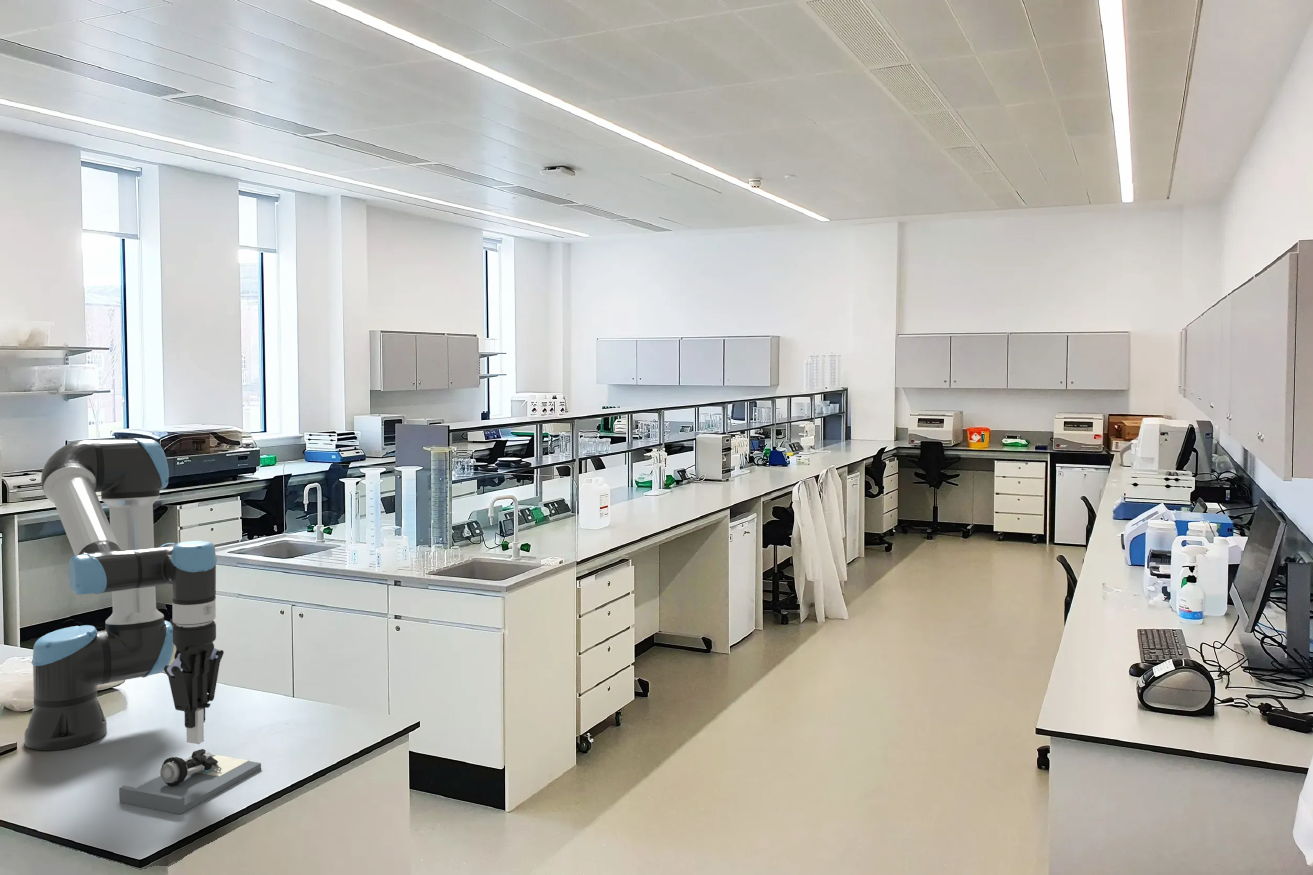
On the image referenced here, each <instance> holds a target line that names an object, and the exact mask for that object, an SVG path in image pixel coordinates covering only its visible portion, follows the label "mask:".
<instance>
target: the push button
mask: <svg viewBox="0 0 1313 875" xmlns="http://www.w3.org/2000/svg"><path fill="white" fill-rule="evenodd" d="M208 754H210V755H208ZM211 755H213V754H212V753H211V752H209V751H208V752H206V749H204V748H201V749H198V750H194V751H193V752H192V754H191V756H189V757H188V758H185V759H183V758H182V757H177V756H171V757H168V758H166V759H165V760H164V761H163V763H162V765H161V768H160V772H159V773H160V774H159V776H161V779H162V780H163V781H164V782H165V783H166V784H167V785H169V786H176V785H178V784H179V783H181V782H183V781H184V779H185V777H186V776H187V775H189V774H192V773H195V772H199V771H203V772H204V773H207V772H209V771H214V772H216V773H217V772H218V771H220V772H221V769H222V768H221V767H219V766H218V764H217V763H218V761H217V760H215V759H214V758H213V757H211ZM219 768H220V770H219ZM215 769H216V771H215ZM176 780H177V781H176Z"/></svg>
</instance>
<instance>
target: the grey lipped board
mask: <svg viewBox="0 0 1313 875" xmlns="http://www.w3.org/2000/svg"><path fill="white" fill-rule="evenodd" d="M208 755H210V754H208ZM211 757H213V758H214V759H215V760H217V761H218V763H217V764H218V766H219V767H221V768H222V769H221V772H220V771H218V772H217V773H216V772H214V771H209V772H207V773H204V772H203V771H199V772H195V773H192V774H189V775H187V776H186V777H185V779H184V781H183V782H181V783H179V784H178V785H176V786H169V785H167V784H166V783H165V782H164V781H163V780H162V779H161V776H160V775H159V776H157V777H155V778H153V779H150V780H148V781H147V782H144V783H143V784H140V785H139V786H137V787H133V786H129V785H121V786H120V787H118V788H119V789H118V790H119V791H118V796H119V799H118V800H119V804H126V805H131V806H137V807H142V808H146V809H152V810H156V811H162V812H166V813H171V814H176V815H183V813H185V812H187V811H188V810H190V809H192V808H194V807H196V806H198V805H199V804H202V803H203V802H205V801H207V800H209V799H210V798H212V797H214V796H215V795H218V794H219V793H221V792H222V791H225V790H226V789H228V788H230V787H231V786H233V785H235V784H236V783H239V782H240V781H242V780H244V779H246V778H247V777H249V776H251V775H252V774H254V773H256V772H258V771H260V770H261V769H262V763H261V762H257V761H251V760H249V759H248V760H247V759H242V758H235V757H231V756H224V755H220V754H219V755H218V754H216V755H215V754H212V755H211ZM219 770H220V768H219ZM215 771H216V769H215ZM176 781H177V780H176Z"/></svg>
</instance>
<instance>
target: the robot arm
mask: <svg viewBox="0 0 1313 875" xmlns="http://www.w3.org/2000/svg"><path fill="white" fill-rule="evenodd" d="M169 473H170V470H169V465H168V460H167V457H166V454H165V451H164V449H163V447H162V446H161V444H160V443H159V442H158V441H156V440H155V439H151V438H137V437H135V438H134V437H133V438H117V439H114V438H109V439H80V440H76V441H73V442H69V443H68V444H65V445H64V446H62V447H60V448H59V449H58V450H56V451H55V452H54V453H53V454H52V455H51V456H50V457H49V458H48V460H47V461H46V463H45V464H44V467H43V469H42V471H41V476H40V477H41V478H40V483H41V487H42V490H43V493H44V496H45V497H46V498H47V499H48V500H49V501H50V502H52V503H53V504H54V506H55V508H56V511H57V514H58V515H59V519H60V521H61V524H62V527H63V530H64V531H65V534H66V537H67V539H68V542H69V544H70V546H71V550H72V551H73V552H72V553H73V554H74V556H72V557H71V558H70V560H69V561H68V567H67V569H68V570H67V571H68V572H67V573H68V575H67V576H68V581H69V588H70V589H71V591H72V592H73V593H74V594H75V595H91V594H94V595H99V594H103V593H105V594H106V593H111V595H112V596H111V597H112V600H111V601H112V602H111V604H112V613H111V615H110V616H108V618H107V619H105V623H104V624H105V626H104V627H105V629H104V630H100V631H99V630H97V628H96V627H95V626H94V625H89V624H85V625H80V626H79V625H75V626H69V627H64V628H60V629H56V630H54V631H52V632H48V633H45V635H42V636H41V637H39V638H38V639H37V640H36V641H35V643H34V644H33V650H32V659H31V660H32V661H31V664H32V675H33V676H32V678H33V679H32V680H33V682H32V684H33V707H32V711H31V715H30V718H29V722H28V725H27V728H26V729H25V731H24V735H23V736H24V738H23V740H24V746H25V747H26V748H28V749H31V750H34V751H35V750H36V751H58V750H66V749H71V748H77V747H81V746H83V745H87V744H90V743H93V742H95V741H97V740H99V739H101V738H102V737H104V736H105V735H106V734H107V731H108V730H107V729H108V727H107V725H108V724H107V719H106V717H105V714H104V713H103V709H102V707H101V704H100V702H99V700H98V686H99V685H104V684H105V685H106V684H110V683H111V684H112V683H115V682H120V681H126V680H132V679H138V678H147V677H149V676H153V675H157V674H161V673H162V672H164V673H165V674H166V676H167V678H168V681H169V682H168V683H169V687H170V691H171V692H170V693H171V696H172V700H173V705H174V709H175V710H176V711H181V712H184V727H185V728H186V743H189V744H195V745H199V744H201V743H203V742H204V741H205V740H204V738H205V736H204V735H205V734H204V733H205V732H204V731H205V729H204V726H205V725H204V723H205V722H206V709H209V708H210V707H211V703H209V702H213V701H214V699H215V694H216V688H217V681H218V676H219V670H220V664H221V661H222V658H223V656H224V653H225V652H224V649H217V648H215V644H214V642H215V641H216V640H217V623H216V622H215V620H216V618H217V616H216V614H217V613H216V612H217V610H216V609H217V608H216V603H217V602H216V599H217V598H216V597H217V596H216V595H217V588H216V587H217V586H216V583H217V578H216V577H217V574H216V573H217V560H218V559H217V555H216V547H215V544H214V543H212V542H211V541H205V540H187V541H181V542H178V543H177V542H167V543H164V544H162V545H160V546H158V547H155V537H154V534H155V532H154V508H153V507H154V506H153V505H154V503H155V502H156V501H157V500H159V498H160V497H161V491H160V490H163V489H166V488H167V486H168V484H169V479H170V474H169ZM97 493H100V495H101V496H100V498H99V497H98V495H97ZM100 499H101V501H102V502H103V503H104V504H106V506H108V508H109V520H108V517H107V515H106V513H105V510H104V509H103V506H102V504H101V501H100ZM165 585H171V587H172V589H171V591H172V593H171V594H172V604H171V605H172V611H171V612H172V618H171V620H172V621H171V622H173V624H174V625H172V623H171V622H170V621H168V620H165V615H164V613H162V612H161V611H159V610H158V609H157V597H156V596H157V595H156V586H157V587H158V586H165ZM174 646H175V647H174ZM174 648H175V649H176V650H175V654H174ZM173 655H174V660H173V661H172V659H173ZM171 662H172V663H171Z"/></svg>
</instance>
